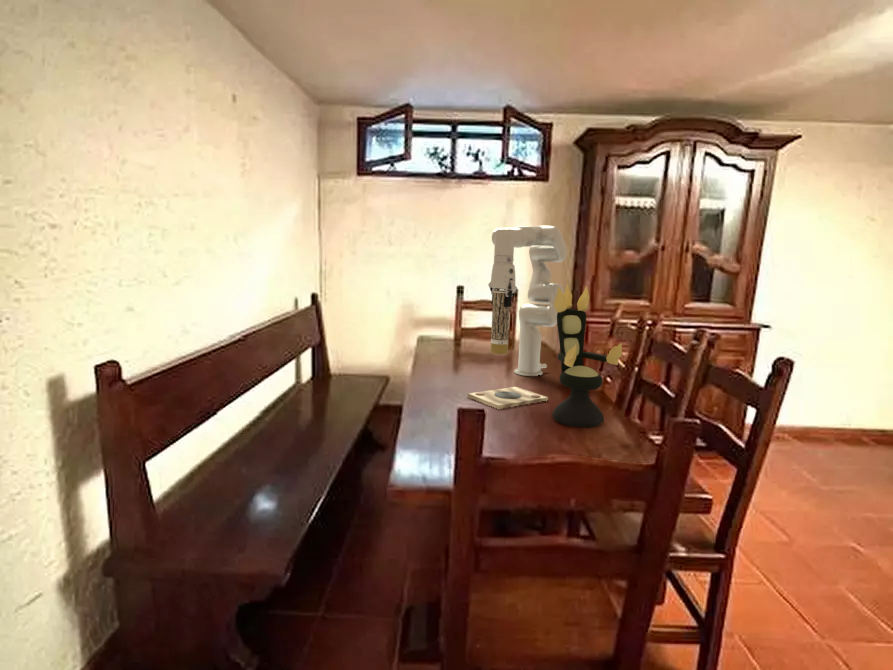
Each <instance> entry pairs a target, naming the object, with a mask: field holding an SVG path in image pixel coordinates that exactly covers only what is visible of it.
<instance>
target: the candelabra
mask: <svg viewBox="0 0 893 670" xmlns="http://www.w3.org/2000/svg"><path fill="white" fill-rule="evenodd" d="M572 302H573V294H572V291H571V289H570V285H569V284H568V283H567V284H566V288H565V290H564V294H563V293H562V291H561V289H560V288H559V286H558V291H557V295H556V298H555V302H554V307H555V309H556V311H557V312H558V314H557V324H556V326H557V332H558V333H557V334H558V340H559V348H560V349H559V350H560V352H559V353H558V355H557V359H558V360H559V361H560V364H561V365H560V368H561V370H560V371H561V373H560V374H559V378H558V379H559V383H560V384H561V385H562V386H564V387H565V388H567V389H570V393H569V396H568V397H567V398H566V399H564V400H563V401H562V402H560V403H559V404H558V405H556V406H555V408H554V409H553V412H552V418H553V419H554V420H555V421H556V422H558V423H560V424H561V425H565V426H570V427H573V428H575V427H576V428H594V427H595V428H596V427H599V426H600V425H602V424H603V423H604V422H605V417H604V414H603V412H602V411H601V409H600V408H599V407H598V406H597V404H596V403H594V402H593V400H592V398H590V391H594V390H597V389H599V388H600V387H601V386H602V385H603V381H604V379H603V377H602V376H601V375H600V374H599V372H597V371H596V370H595V369H593V368H592V367H589V366H586V365H584V359H589V360H593V361H599V362H601V363H603V362H604V363H608V364H610V365H616V366H618V365H619V360H620V358H621V357H623V343H622V342H621V343H619V344H617V345H615V346H613V347H612V348H611V349H610V350H609V352H608V354H607V355H606V354H600V353H595V352H590V351H584V348H585V347H584V346H585V335H586V327H587V325H586V323H587V313H586V311H587V310H588V309H589V304H590V303H589V302H590V294H589V288H588V285H586V286H585V287H584V290H583V292H582V294H580V296H579V298H578V300H577V303H576V305H577V309H576V308H572V306H573V303H572Z"/></svg>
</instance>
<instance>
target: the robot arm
mask: <svg viewBox="0 0 893 670" xmlns="http://www.w3.org/2000/svg"><path fill="white" fill-rule="evenodd" d="M491 242H492V244H493V246H494V249H493V250H494V251H493V253H494V254H493V265H492V269H491V276H490V277H491V278H490V282H489V283H488V287H489V290H490V293H491V305H492V306H493V291H494V290H504V292H505V295H506V297H504V307H510V308H511V307H512V298H513V297H514V294H515V293H516V291H517V289H518V287H517V285H516V268H515V264H514V260H515V259H514V252H515V248H516V249H517V248H518V249H519V248H523V247H524V248H526V247H529V249H528V256H529V259H530V262H531V263H530V264H531V267H532V275H531V279H530V284H529V287H528V290H527V299H528V300H529V302H531V303H524V304H522V305H521V306H520V308H519V311H518V318H519V343H518V344H519V345H518V360H517V361H518V362H517V368H514V371H513V372H514V374H516V375H519V376H524V377H525V376H526V377H538V375H540V376H542V375H543V371H542V369H546V368H547V367H548V365H547V364H546V363H541V361H540V360H541V346H542V334H541V330H540V329H539V327H546V328H553V327H555V326H557V314H558V312H557V311H556V309H555V307H554V302H555V298H556V295H557V291H558V286H559V288H560V289H561V291H562V293H563V294H564V292H565V290H564V288H563V285H562V284H560V283H557V282H551V279H552V271H551V269H550V267H549V266H548V265H547V263H562V262H564V261H565V260H566V259H567V256H568V249H567V245H566V242H565V239H564V237H563V234H562V232H561V230H560V229H559V228H558V227H557V225H556V226H555V225H525V226H512V227H496V228H495V229H494V230H493V232H492V234H491ZM508 291H509V292H508Z"/></svg>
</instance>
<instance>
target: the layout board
mask: <svg viewBox="0 0 893 670" xmlns="http://www.w3.org/2000/svg"><path fill="white" fill-rule="evenodd" d="M467 398H468V399H470V400H473V399H474V400H473V401H475V400H476V402H478V401H479V402H478V403H480V402H481V404H483V405H486V406H488V407H491V406H492V407H491V408H493V407H494V408H493V409H496V408H497V409H496V410H498V409H499V410H504V409H503V408H505V409H509V408H508V407H511V408H515V407H514V406H517V407H520V406H519V405H522V406H525V405H524V404H528V405H530V404H529V403H534V402H540V403H542V402H541V401H546V402H548V401H549V396H545V395H542V394H539V393H536V392H533V391H530V390H527V389H525V388H523V387H522V388H521V387H518V386H512V387H505V388H497V389H491V390H484V391H483V390H482V391H477V392H470V393H467ZM547 400H548V401H547ZM534 404H535V403H534Z"/></svg>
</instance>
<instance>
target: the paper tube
mask: <svg viewBox="0 0 893 670" xmlns="http://www.w3.org/2000/svg"><path fill="white" fill-rule="evenodd" d="M508 292H509V291H508ZM504 297H506V295H505V292H504V290H501V289H500V290H494V291H493V305H492V309H491V310H492V315H491V334H490V353H491V354H494V355H507V354H508V349H509V333H510V331H509V329H510V314H511V313H510V311H511V307H504Z"/></svg>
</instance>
